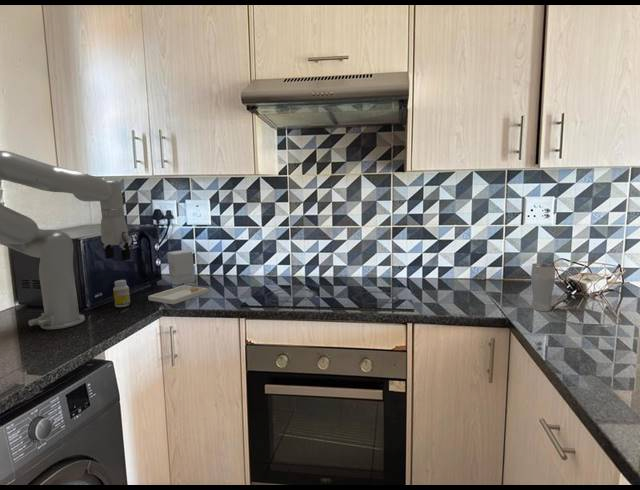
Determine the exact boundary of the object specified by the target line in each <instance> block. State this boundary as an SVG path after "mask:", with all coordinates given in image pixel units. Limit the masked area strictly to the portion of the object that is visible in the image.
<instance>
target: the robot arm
mask: <svg viewBox="0 0 640 490" xmlns="http://www.w3.org/2000/svg"><path fill="white" fill-rule="evenodd" d="M2 180H3V181H7V182H10V183H11V182H12V183H14V184H19V185H23V186H26V187H30V188H33V189H36V190H40V191H44V192H52V193H65V194H72V195H73V196H74V197H75V198H76V199H77V200H79V201H81V202H99V203H100V212H101V219H100V233H101V235H100V236H101V239H100V240H101V244H102V246H103V247H102V248H103V249H104V256H105V259H106V260H109V259H114V258H115V251H114V247H113V246H119V247H120V248H121V250H120V254H121V260H122V261H123V262H124V261H128V260H131V251H130V250H131V246H132V242H133V237H132V236H130V235H129V230H128V226H127V221H126V218H125V209H124V198H123V191H122V183H121V182H120V180H117V179H114V180H113V179H112V180H111V179H109V180H105V179H103V178H100V177H97V176H93V175H90V174H88V173H84V172H80V171H78V170H77V171H76V170H72V169H69V168H65V167H60V166H56V165H52V164H48V163H45V162H42V161H39V160H35V159H33V158H30V157H27V156H25V155H22V154H21V155H20V154H18V153H14V152H11V151H7V150H0V181H2ZM0 245H1V246H2V245H3V246H5V247H7V248H10V249H12V250H13V251H17V252H19V253H22V254H25V255H27V256H29V257H32V258H33V257H34V258H38V259H39V267H38V277H39V282H40V288H41V297H42V305H43V309H44V310H43V311H44V312H42V313H40V315H41V316H39V317H38V318H33V319H29V320H28V326H29V327H33V326H36V325H37V326H40V328H41V329H44V330H59V329H65V328H70V327H73V326H77V325H79V324H81V323H83V322H84V321H85V320H86V318H85V315H84V314H81V313H80V312H79V304H78V296H77V295H78V294H77V288H76V281H75V280H76V279H75V272H74V241H73V240H72V238H71V236H70V235H69V234H67V233H66V232H65V231H61V230H56V229H43V228H42V229H41V228H39V226H38V224H37V223H36V222H35V220H33V219H32V218H31V217H29V216H27V215H25V214H22V213H20V212H18V211H16V210H14V209H12V208H9V207H8V206H5V205H3V204H2V203H0Z"/></svg>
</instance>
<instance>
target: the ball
mask: <svg viewBox="0 0 640 490" xmlns="http://www.w3.org/2000/svg"><path fill="white" fill-rule="evenodd" d="M198 287H199V286H193V287H192V288H191V289H190V291H191V293H193V292H196V291H199V289H198Z"/></svg>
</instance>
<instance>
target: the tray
mask: <svg viewBox="0 0 640 490" xmlns="http://www.w3.org/2000/svg"><path fill="white" fill-rule="evenodd" d="M192 287H193V286H192V285H185V284H183V285H180V286H177V287H173V288H171V289H166V290H164V291H160V292H157V293H154V294H151V295H147V296H148V297H147V298H148V301H151V302H157V303H163V304H169V305H177V304H178V303H181V302H184V301H187V300H190V299H194V298H196V297H199V296H202V295H205V294H208V293H209V288H208V287H207V288H206V287H200V286H197V287H198V289H199V291H196V292H193V293H191V291H190V289H191V288H192Z"/></svg>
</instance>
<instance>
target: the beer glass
mask: <svg viewBox="0 0 640 490" xmlns="http://www.w3.org/2000/svg"><path fill="white" fill-rule="evenodd" d="M530 275H531V276H530V285H531V290H532V291H531V292H532V301H531V305H530V308H531V309H532V310H534V311H538V312H551V311H552V301H551V300H552V295H553V291H554V286H555V283H556V265H555V264H551V263H544V262H541V263H540V262H539V263H538V262H537V263H532V265H531V273H530Z"/></svg>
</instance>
